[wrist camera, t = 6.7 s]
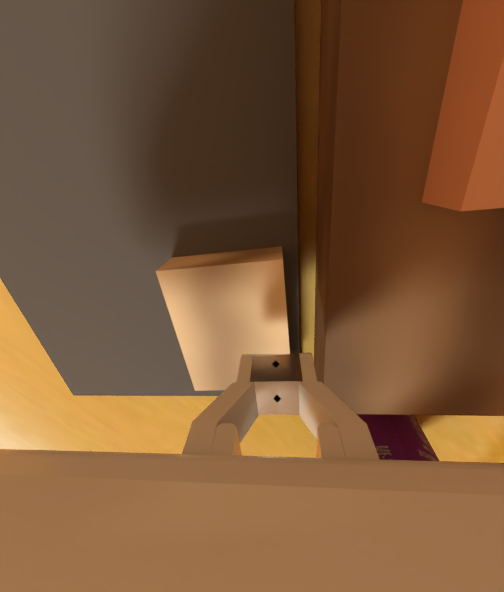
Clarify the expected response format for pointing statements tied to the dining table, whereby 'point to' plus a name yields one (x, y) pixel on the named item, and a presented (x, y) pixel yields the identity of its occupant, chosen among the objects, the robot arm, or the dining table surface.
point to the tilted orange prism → (471, 116)
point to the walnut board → (399, 225)
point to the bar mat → (139, 170)
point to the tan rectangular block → (226, 310)
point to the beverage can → (398, 437)
